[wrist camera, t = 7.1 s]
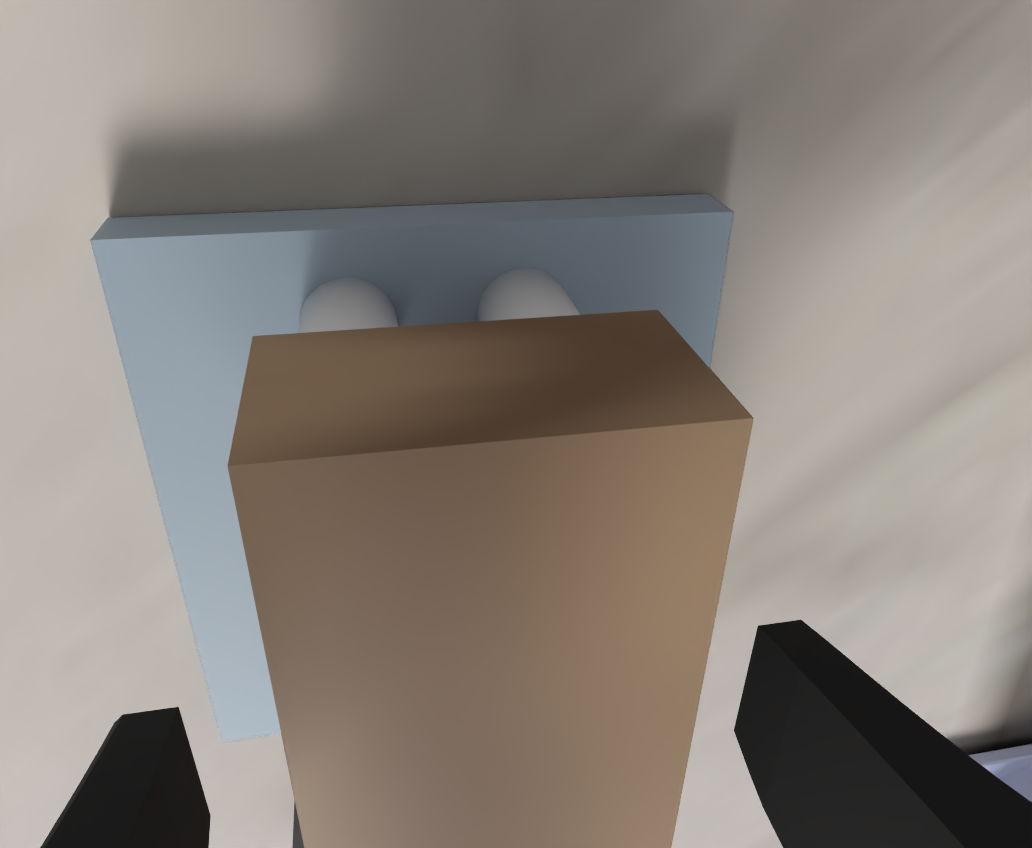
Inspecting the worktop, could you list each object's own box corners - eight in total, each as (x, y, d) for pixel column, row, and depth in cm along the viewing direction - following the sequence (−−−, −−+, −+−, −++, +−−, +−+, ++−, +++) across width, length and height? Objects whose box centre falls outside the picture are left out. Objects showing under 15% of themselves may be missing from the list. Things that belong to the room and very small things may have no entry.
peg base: (707, 194, 13) (839, 283, 10) (646, 642, 18) (719, 804, 15) (107, 217, 11) (14, 335, 8) (227, 701, 17) (200, 896, 13)
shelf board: (657, 310, 9) (753, 418, 7) (599, 831, 14) (645, 983, 12) (253, 336, 9) (228, 466, 6) (342, 877, 14) (344, 1048, 12)
